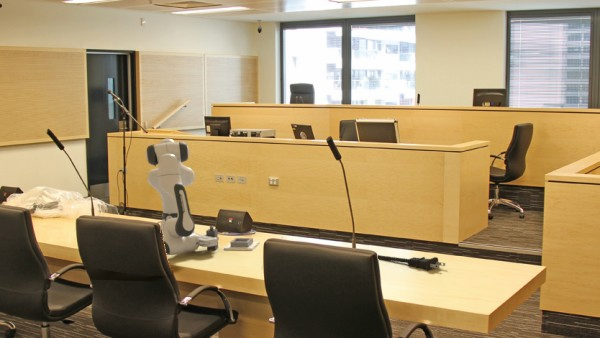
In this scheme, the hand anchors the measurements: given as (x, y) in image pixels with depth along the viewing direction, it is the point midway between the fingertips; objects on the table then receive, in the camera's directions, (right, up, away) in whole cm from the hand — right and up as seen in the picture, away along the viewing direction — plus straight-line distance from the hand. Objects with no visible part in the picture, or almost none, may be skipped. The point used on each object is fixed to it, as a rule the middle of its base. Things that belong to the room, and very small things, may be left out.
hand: (213, 237), depth 380 cm
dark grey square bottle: (0, -6, 0) cm, 6 cm away
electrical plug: (+93, -9, -39) cm, 101 cm away
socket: (+14, -5, +3) cm, 16 cm away
